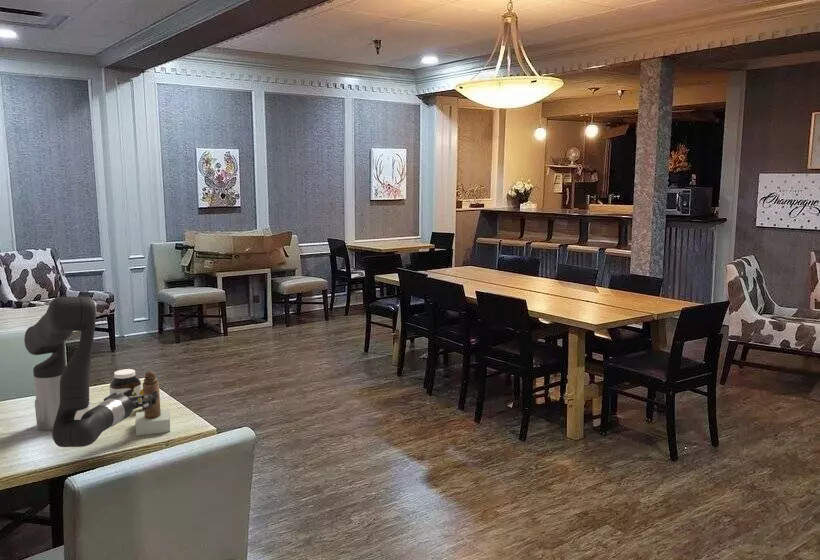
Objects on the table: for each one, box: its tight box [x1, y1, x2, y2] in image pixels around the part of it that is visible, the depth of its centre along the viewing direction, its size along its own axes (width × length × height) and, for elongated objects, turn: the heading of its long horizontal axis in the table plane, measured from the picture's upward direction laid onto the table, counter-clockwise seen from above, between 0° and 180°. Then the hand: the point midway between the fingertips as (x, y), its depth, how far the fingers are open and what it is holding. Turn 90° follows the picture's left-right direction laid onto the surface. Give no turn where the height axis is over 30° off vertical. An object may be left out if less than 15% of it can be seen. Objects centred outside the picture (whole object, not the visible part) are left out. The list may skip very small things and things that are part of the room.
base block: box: [135, 408, 171, 436], centre depth 215 cm, size 10×10×4 cm
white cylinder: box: [74, 401, 92, 420], centre depth 217 cm, size 7×7×7 cm
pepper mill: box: [142, 370, 162, 419], centre depth 213 cm, size 5×5×15 cm
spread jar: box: [109, 368, 143, 399], centre depth 238 cm, size 12×11×12 cm
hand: (143, 393), depth 209 cm, fingers open, 8 cm apart
